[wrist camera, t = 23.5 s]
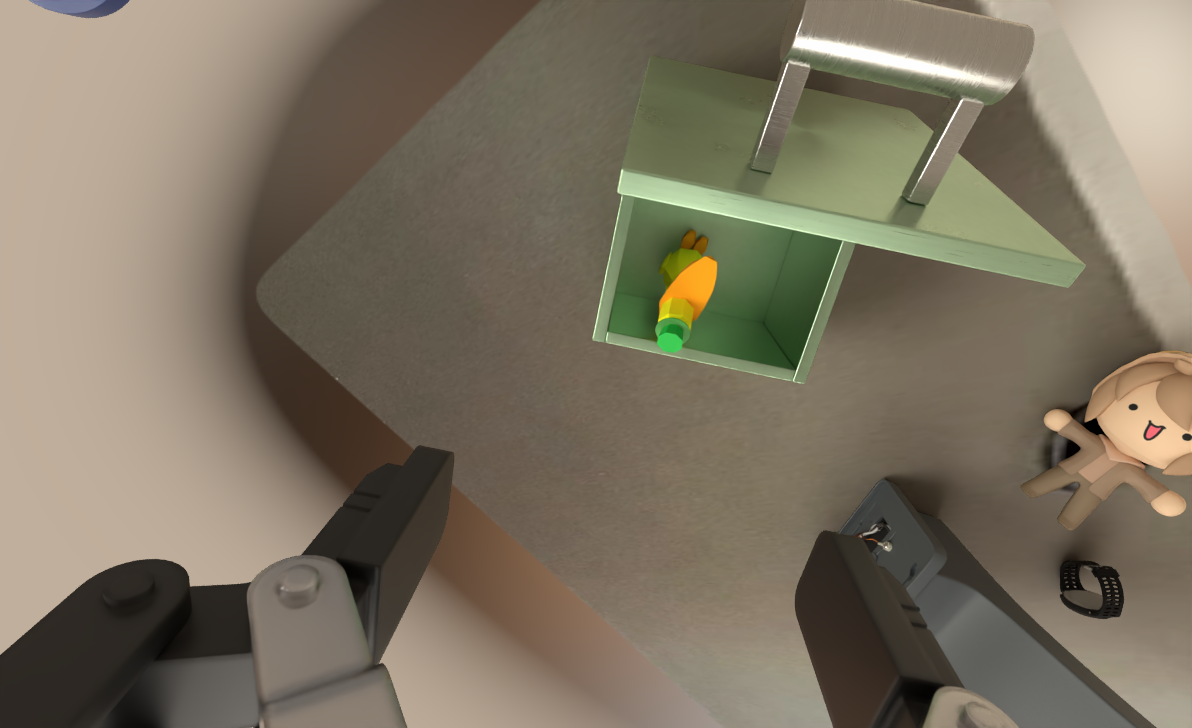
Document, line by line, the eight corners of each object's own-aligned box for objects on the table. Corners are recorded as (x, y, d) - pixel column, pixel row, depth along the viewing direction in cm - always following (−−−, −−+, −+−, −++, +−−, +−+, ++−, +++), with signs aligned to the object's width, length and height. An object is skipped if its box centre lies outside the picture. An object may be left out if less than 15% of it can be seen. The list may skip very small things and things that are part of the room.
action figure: (977, 459, 45) (1155, 312, 39) (999, 461, 53) (1150, 339, 47) (1105, 571, 39) (1337, 417, 33) (1109, 555, 47) (1296, 428, 41)
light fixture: (966, 629, 55) (1194, 969, 32) (809, 561, 53) (935, 869, 31) (1044, 548, 51) (1366, 871, 29) (878, 472, 49) (1079, 750, 27)
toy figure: (696, 192, 40) (679, 275, 31) (740, 215, 40) (736, 304, 31) (653, 266, 44) (626, 358, 35) (693, 287, 45) (677, 383, 35)
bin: (768, 331, 46) (804, 384, 36) (602, 296, 46) (591, 340, 35) (835, 124, 40) (902, 118, 30) (646, 84, 40) (648, 64, 30)
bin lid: (1069, 289, 17) (1241, 76, 13) (615, 194, 17) (662, -47, 13) (902, 125, 30) (965, -5, 26) (646, 71, 30) (674, -67, 26)
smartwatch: (1035, 580, 52) (1074, 623, 48) (1070, 538, 51) (1114, 578, 46) (1075, 594, 53) (1118, 638, 48) (1112, 552, 51) (1160, 594, 46)
